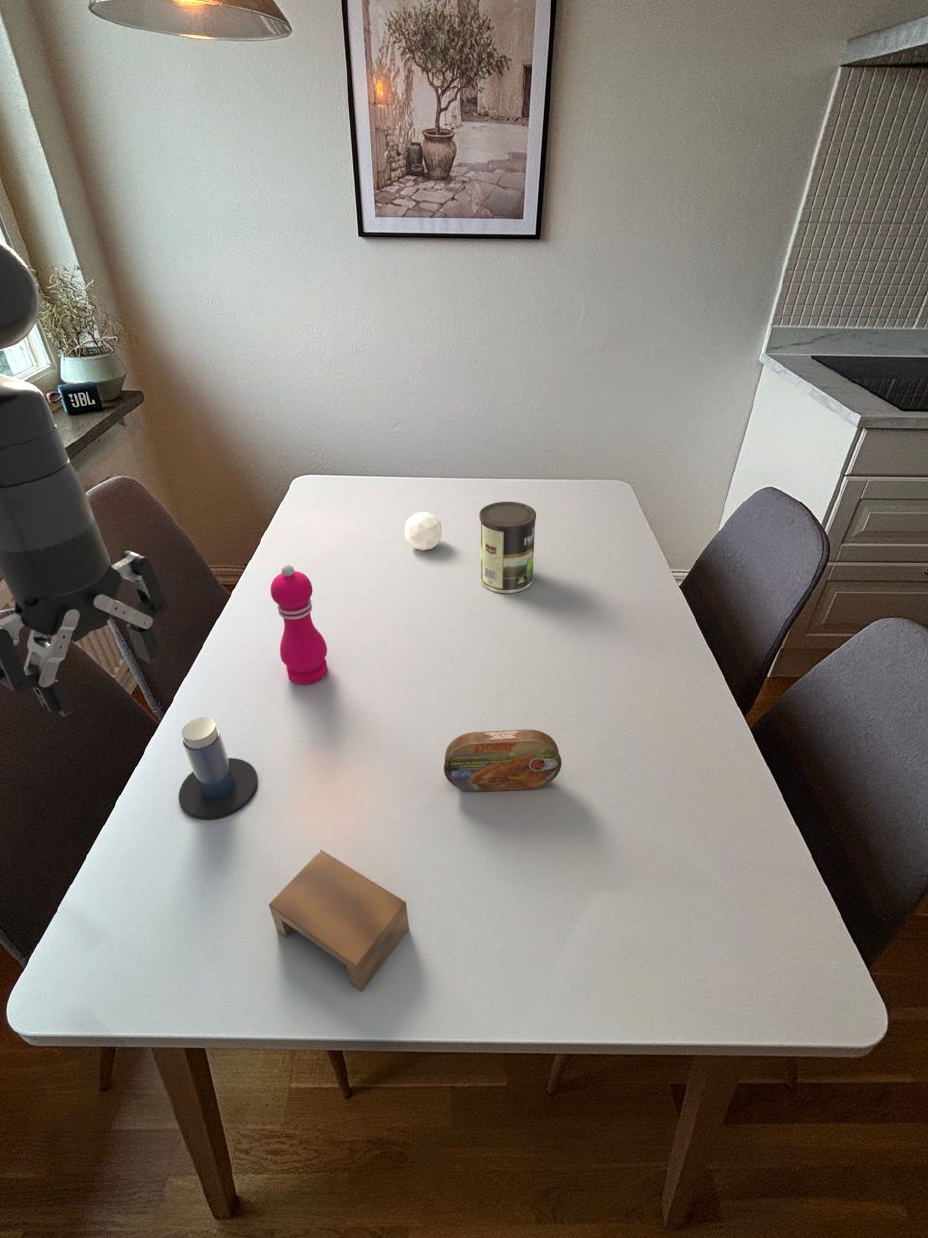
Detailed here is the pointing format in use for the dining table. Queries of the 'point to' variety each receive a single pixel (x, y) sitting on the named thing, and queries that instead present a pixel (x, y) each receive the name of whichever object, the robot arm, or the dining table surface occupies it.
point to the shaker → (208, 758)
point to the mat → (225, 805)
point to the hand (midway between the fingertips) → (107, 683)
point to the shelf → (342, 915)
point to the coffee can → (507, 546)
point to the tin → (502, 760)
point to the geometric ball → (423, 531)
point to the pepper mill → (298, 628)
